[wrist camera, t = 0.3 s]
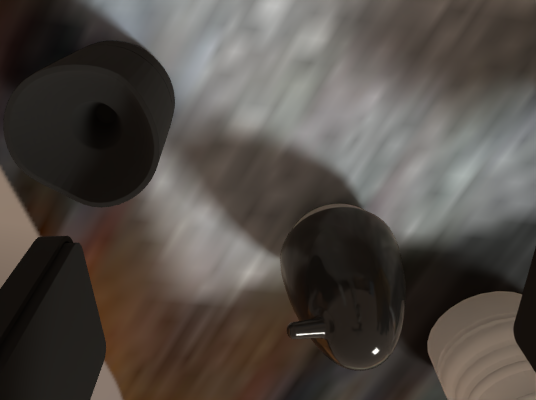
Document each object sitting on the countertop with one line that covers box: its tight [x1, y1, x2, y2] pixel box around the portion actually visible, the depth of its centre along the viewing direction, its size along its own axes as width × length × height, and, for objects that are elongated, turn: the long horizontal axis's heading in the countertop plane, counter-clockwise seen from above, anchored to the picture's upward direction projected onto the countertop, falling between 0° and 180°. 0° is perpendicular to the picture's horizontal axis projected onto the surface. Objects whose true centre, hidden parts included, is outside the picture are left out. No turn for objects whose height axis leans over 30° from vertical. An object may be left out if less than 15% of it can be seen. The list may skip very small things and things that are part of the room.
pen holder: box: [4, 41, 175, 207], centre depth 35 cm, size 9×9×10 cm
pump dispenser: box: [280, 204, 406, 371], centre depth 39 cm, size 10×10×15 cm
